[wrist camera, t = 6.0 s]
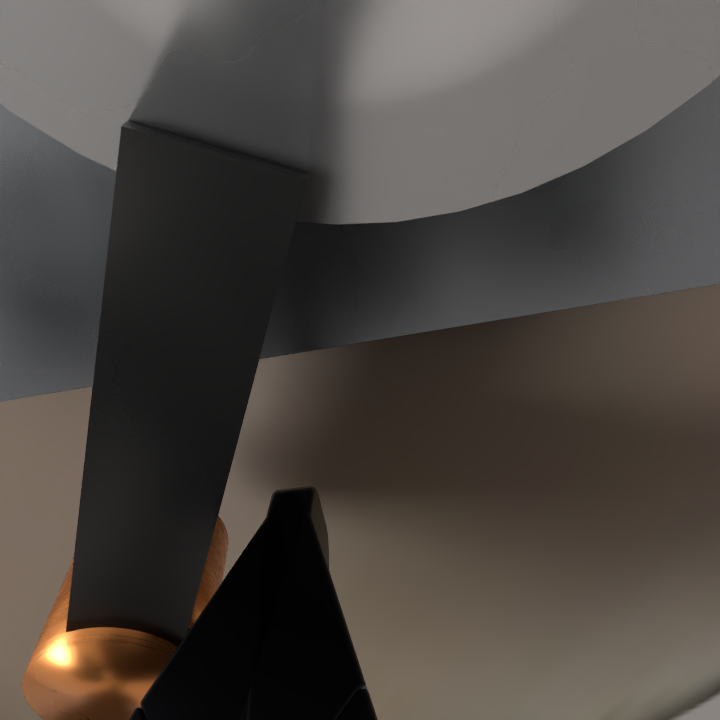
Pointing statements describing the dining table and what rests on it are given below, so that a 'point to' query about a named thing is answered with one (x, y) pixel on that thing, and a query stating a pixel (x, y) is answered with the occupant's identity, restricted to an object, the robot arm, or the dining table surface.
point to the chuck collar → (276, 228)
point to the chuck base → (374, 251)
